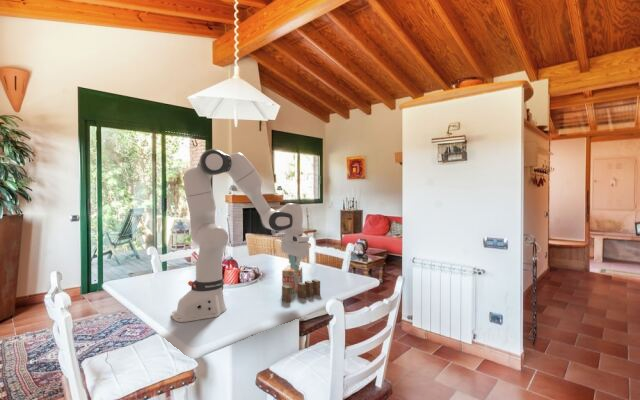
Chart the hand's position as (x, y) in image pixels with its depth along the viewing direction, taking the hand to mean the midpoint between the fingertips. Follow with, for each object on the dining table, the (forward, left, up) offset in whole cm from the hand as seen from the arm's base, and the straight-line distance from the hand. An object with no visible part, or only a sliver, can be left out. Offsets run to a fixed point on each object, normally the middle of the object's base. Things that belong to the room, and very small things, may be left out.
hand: (294, 264), depth 160 cm
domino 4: (+14, +1, -18) cm, 22 cm away
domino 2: (+5, +1, -18) cm, 18 cm away
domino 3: (+9, +1, -18) cm, 20 cm away
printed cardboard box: (+10, +17, -18) cm, 27 cm away
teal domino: (0, 0, -2) cm, 2 cm away
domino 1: (-4, +1, -18) cm, 18 cm away
